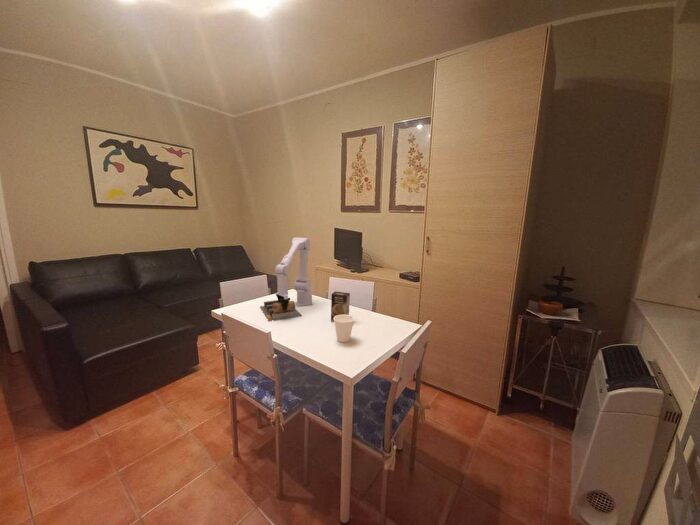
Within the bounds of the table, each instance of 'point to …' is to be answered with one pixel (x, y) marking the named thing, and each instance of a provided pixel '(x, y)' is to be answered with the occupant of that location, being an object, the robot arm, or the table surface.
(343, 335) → the cup
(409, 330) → the table surface
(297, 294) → the robot arm
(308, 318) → the table surface
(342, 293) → the coffee box
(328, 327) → the table surface
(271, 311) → the rack
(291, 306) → the brown wooden block
